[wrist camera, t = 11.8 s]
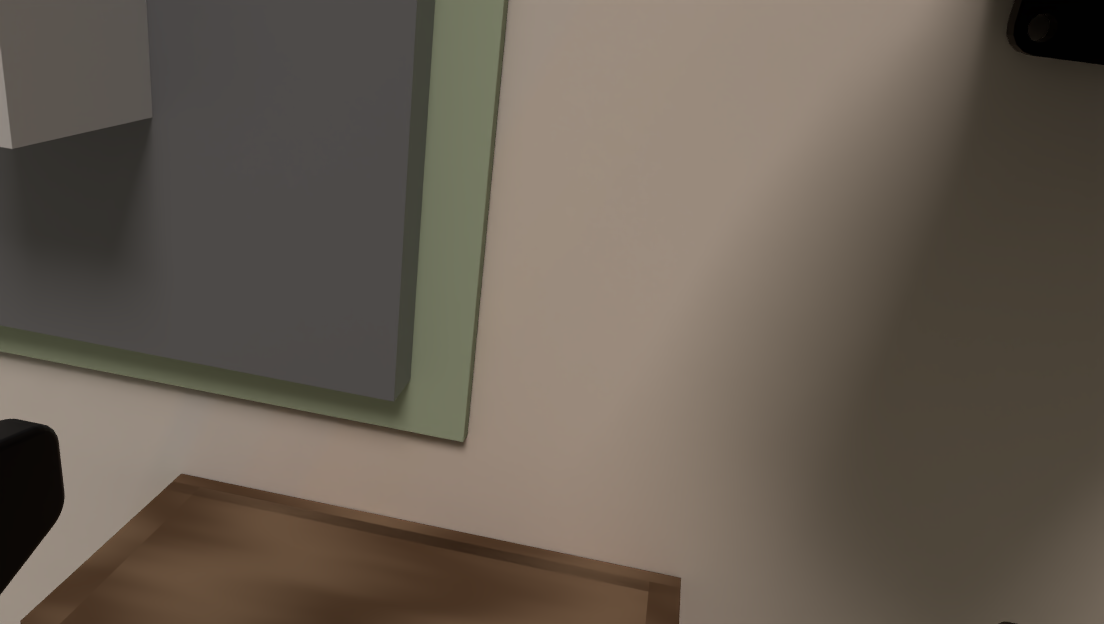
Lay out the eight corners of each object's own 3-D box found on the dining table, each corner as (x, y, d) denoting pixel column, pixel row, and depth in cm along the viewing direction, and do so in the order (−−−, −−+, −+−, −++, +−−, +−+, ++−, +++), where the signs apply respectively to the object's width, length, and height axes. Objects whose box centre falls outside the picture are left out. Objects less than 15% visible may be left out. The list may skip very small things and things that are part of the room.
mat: (550, -451, 15) (546, -463, 15) (467, 434, 22) (463, 441, 21) (-327, -513, 17) (-350, -524, 17) (-156, 313, 24) (-170, 318, 23)
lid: (459, -360, 15) (345, -520, 11) (410, 379, 21) (322, 495, 16) (-263, -423, 17) (-643, -585, 12) (-130, 277, 23) (-356, 353, 18)
